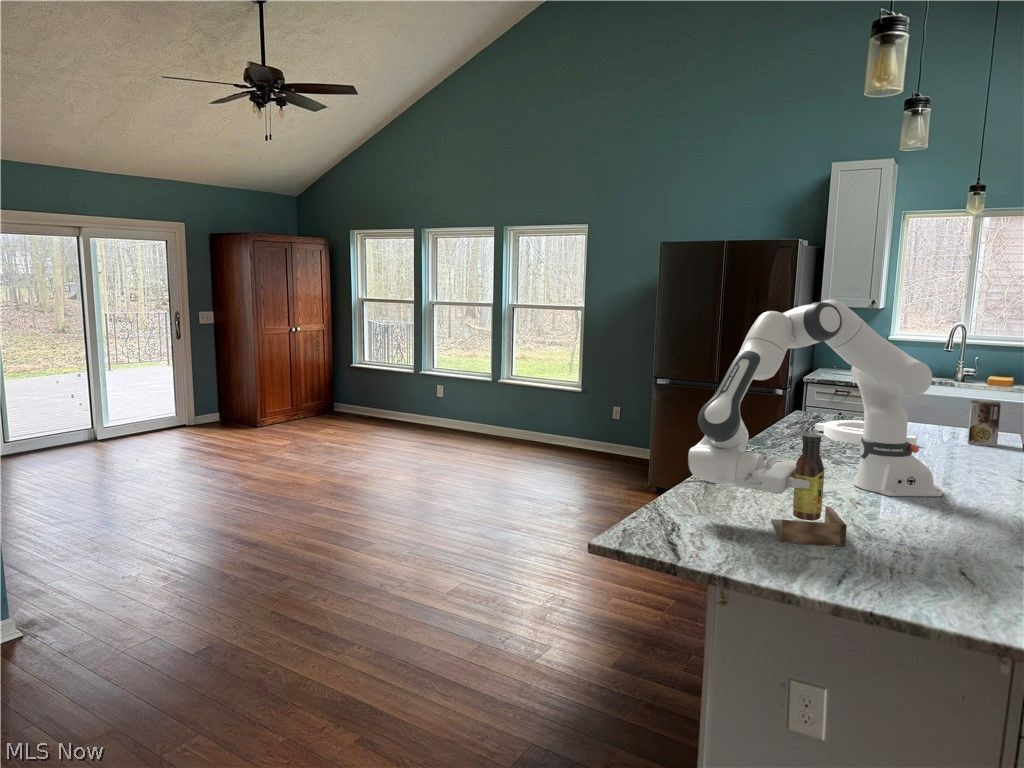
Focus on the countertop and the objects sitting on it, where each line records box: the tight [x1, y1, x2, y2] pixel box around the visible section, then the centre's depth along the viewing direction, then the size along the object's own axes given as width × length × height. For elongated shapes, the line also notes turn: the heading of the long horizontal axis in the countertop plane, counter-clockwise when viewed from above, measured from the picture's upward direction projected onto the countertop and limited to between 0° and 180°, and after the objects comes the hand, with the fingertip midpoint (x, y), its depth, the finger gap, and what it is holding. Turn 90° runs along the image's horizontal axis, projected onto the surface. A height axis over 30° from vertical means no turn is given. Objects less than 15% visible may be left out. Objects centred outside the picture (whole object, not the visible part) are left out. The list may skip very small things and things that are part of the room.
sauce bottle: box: [792, 433, 825, 522], centre depth 157 cm, size 7×6×20 cm
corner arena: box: [770, 505, 847, 547], centre depth 159 cm, size 14×14×5 cm
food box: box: [966, 399, 1002, 447], centre depth 251 cm, size 9×6×16 cm
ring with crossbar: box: [814, 419, 918, 446], centre depth 261 cm, size 28×28×5 cm
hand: (813, 480), depth 157 cm, fingers closed on sauce bottle, 6 cm apart
